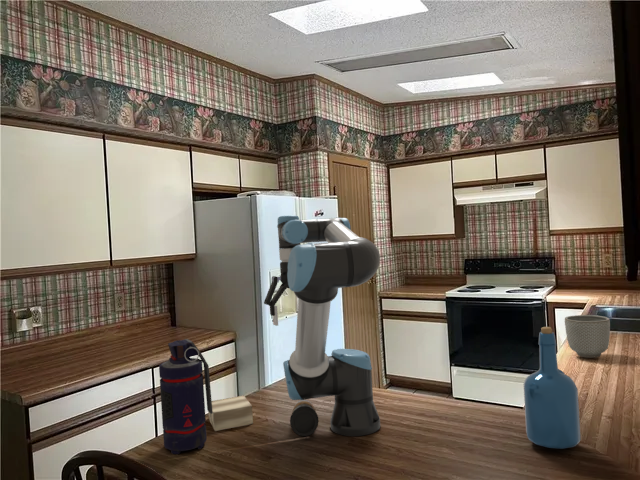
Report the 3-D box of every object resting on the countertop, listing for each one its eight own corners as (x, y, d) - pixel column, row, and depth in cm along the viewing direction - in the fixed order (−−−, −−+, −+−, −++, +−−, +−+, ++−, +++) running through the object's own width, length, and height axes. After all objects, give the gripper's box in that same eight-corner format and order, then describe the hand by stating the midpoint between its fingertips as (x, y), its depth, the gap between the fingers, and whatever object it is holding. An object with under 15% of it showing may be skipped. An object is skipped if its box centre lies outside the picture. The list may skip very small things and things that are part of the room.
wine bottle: (578, 454, 127) (571, 333, 127) (521, 445, 134) (515, 330, 134) (583, 434, 139) (577, 323, 139) (531, 427, 146) (525, 322, 146)
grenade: (168, 459, 139) (161, 348, 139) (160, 444, 150) (154, 341, 149) (218, 446, 145) (212, 340, 145) (207, 433, 156) (201, 334, 156)
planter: (573, 360, 214) (571, 322, 214) (561, 351, 231) (559, 315, 231) (618, 359, 211) (616, 320, 211) (602, 350, 228) (600, 314, 228)
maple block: (253, 424, 162) (251, 405, 162) (214, 431, 158) (213, 412, 158) (244, 413, 173) (243, 395, 173) (208, 419, 169) (207, 401, 169)
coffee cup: (321, 414, 163) (324, 428, 148) (298, 427, 162) (298, 443, 147) (309, 391, 163) (310, 402, 148) (286, 403, 162) (284, 417, 147)
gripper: (319, 258, 185) (322, 316, 185) (252, 263, 174) (256, 325, 174) (328, 258, 178) (331, 319, 178) (259, 263, 168) (263, 328, 168)
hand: (294, 322), depth 176 cm, fingers open, 13 cm apart
